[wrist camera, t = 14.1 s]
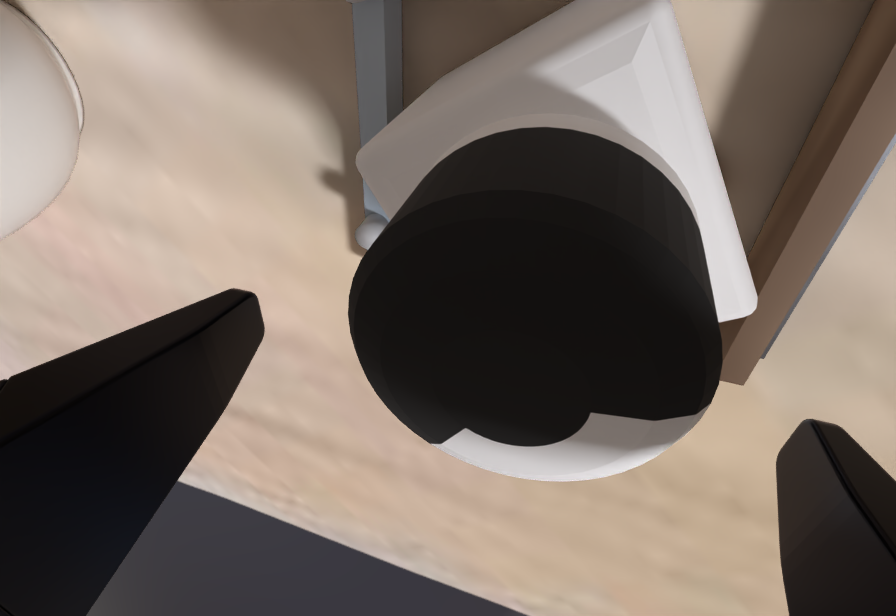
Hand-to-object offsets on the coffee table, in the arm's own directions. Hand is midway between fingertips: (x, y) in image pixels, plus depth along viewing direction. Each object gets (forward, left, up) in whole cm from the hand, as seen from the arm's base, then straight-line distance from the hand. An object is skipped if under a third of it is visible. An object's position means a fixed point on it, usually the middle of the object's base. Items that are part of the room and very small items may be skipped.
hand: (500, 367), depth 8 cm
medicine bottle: (0, 0, -12) cm, 12 cm away
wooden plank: (-7, 0, -11) cm, 13 cm away
